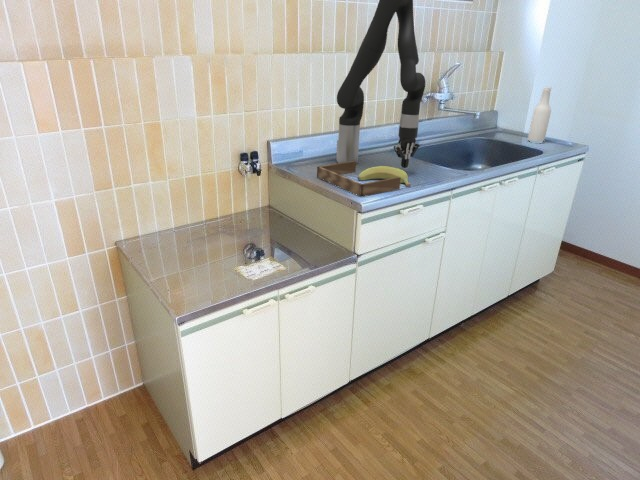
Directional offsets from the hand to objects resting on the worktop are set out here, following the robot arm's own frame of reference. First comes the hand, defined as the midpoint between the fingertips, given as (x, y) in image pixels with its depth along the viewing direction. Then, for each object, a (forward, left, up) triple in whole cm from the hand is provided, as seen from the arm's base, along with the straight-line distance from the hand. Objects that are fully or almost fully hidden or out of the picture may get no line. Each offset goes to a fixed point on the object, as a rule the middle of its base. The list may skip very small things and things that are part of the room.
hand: (404, 167), depth 191 cm
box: (0, -25, -3) cm, 25 cm away
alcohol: (-12, +115, -3) cm, 115 cm away
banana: (+5, -14, -4) cm, 15 cm away
